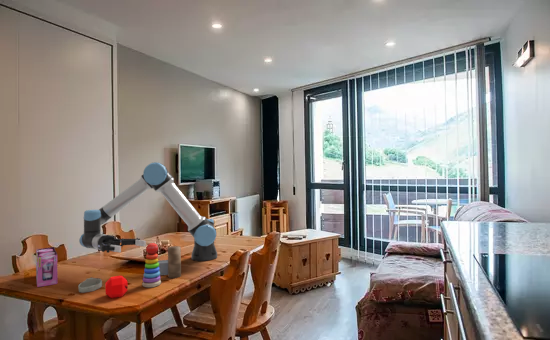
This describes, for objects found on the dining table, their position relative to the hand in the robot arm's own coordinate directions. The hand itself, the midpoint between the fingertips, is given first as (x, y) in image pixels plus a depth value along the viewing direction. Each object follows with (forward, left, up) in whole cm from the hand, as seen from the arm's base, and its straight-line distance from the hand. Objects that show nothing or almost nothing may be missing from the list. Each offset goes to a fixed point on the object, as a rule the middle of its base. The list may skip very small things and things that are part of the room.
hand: (133, 246), depth 151 cm
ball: (+5, +17, -17) cm, 25 cm away
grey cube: (-12, -9, -16) cm, 22 cm away
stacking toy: (-8, +8, -17) cm, 20 cm away
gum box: (+41, -19, -17) cm, 48 cm away
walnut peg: (-18, -1, -16) cm, 25 cm away
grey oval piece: (+17, +5, -17) cm, 24 cm away
